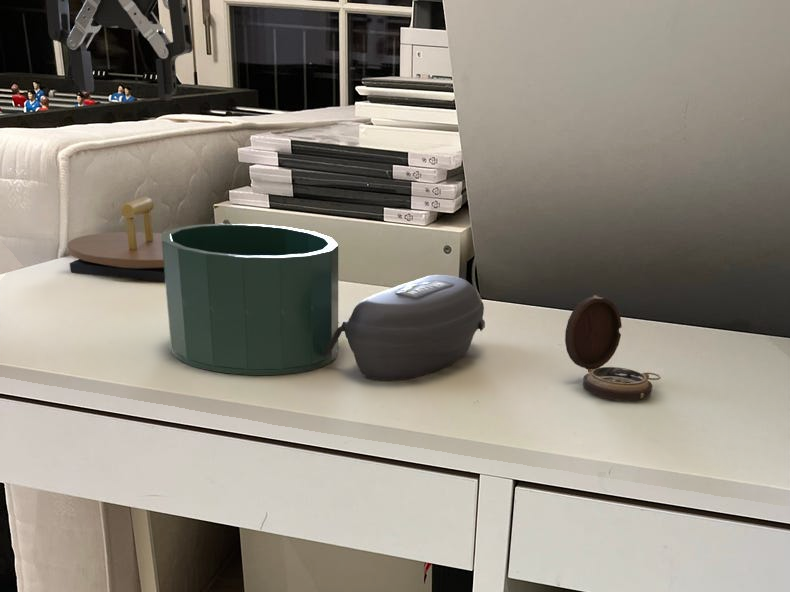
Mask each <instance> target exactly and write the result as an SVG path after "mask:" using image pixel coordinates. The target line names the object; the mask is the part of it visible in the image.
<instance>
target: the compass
mask: <svg viewBox="0 0 790 592" xmlns="http://www.w3.org/2000/svg"><path fill="white" fill-rule="evenodd" d="M622 326H623V325H622V317H621V314H620V312H619V309H618V307H617V306H616V305H615V304H614V302H613V301H612V300H609V299H608V298H606V297H601V296H599V295H593V296H591V297H588V298H585V299H584V300H582V301H581V302H579V303H578V304H577V305H576V307H574V309H573V310H572V312H571V314H570V316H569V317H568V320H567V323H566V327H565V331H564V332H565V333H564V343H565V348H566V352H567V354H568V357H569V359H570V360H571V361H572V362H573V364H575V365H576V366H578V367H580V368H583V369H586V370H587V373H586V374H585V375H583V377H582V384H581V385H582V388H584V390H586V391H587V392H588V393H590V394H592V395H594V396H597V397H600V398H601V397H602V398H603V399H609V400H617V401H638V400H639V401H640V400H643V399H645V398H647V397H649V396H650V395H651V394H652V391H653V386H654V385H653V384H652V381H658V380H660V379H661V375H660V374H657V373H655V372H639V371H636V370H633V369H631V368H625V367H619V366H618V367H617V366H604V365H606V364H607V363H608V362H609V361H610V360H611V359H612V358H613V356H614V355H615V353H616V351H617V349H618V347H619V344H620V341H621V336H622V333H620V329H621V328H623V327H622ZM650 375H652V376H656V377H650ZM649 380H650V381H649Z"/></svg>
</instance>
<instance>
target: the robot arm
mask: <svg viewBox="0 0 790 592" xmlns="http://www.w3.org/2000/svg"><path fill="white" fill-rule="evenodd" d="M158 1H159V0H81V2H82V4H83V5H82V7H81V9H80V11H79V12H78V14H77V16H76V17H75V20H74V26H73V28H72V29H71V23H70V22H71V21H70V8H69V7H70V6H69V0H45V3H46V4H45V5H46V15H47V17H46V18H47V28H48V30H47V31H48V36H49V38H50V39H51V40H52V41H54V42H58V43H60V44H61V45H64V46H65V47H66V48H67V49H68V51H69V57H70V63H71V64H70V65H71V72H72V80H73V82H74V84H75V86H78V89H79V91H80V92H81V93H93V92H94V91H95V85H94V73H93V65H92V57H91V55H92V54H91V51H90V50H89V51H87V50H88V47H89V45H90V44H91V42H92V41H93V38H94V37H95V35H96V34H97V33H99V31H100V30H101V28H109V29H110V28H112V29H113V28H114V29H118V28H120V29H123V30H132V31H139V32H140V33H141V35H142V36H143V37H144V38H145V39H146V40H147V41H148V42H149V44H150V46H151V47H152V48H153V50H154V51H155V53H156V54H157V56H158V59H157V58H156V59H155V67H156V68H155V69H156V80H157V92H158V93H157V95H158V99H159V100H160V101H166V102H167V101H172V100H173V95H176V94H177V91H178V84H177V83H178V82H177V71H176V69H177V68H176V60H177V59H178V57H180V56H184V55H186V54H191V53H192V52H193V50H194V44H193V36H192V35H193V34H192V27H191V17H190V9H189V0H162V4H163V7H164V8H165V9H167V10H168V11H169V19H170V28H171V37H172V41H171V40H170V38H169V37H168V35H167V34H166V32H165V29H164V27H163V26H162V23H160V21H159V19H158V18H157V16H156V15H155V13H154V12H153V10H154V8H155V6H156V4H157V3H158Z"/></svg>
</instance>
